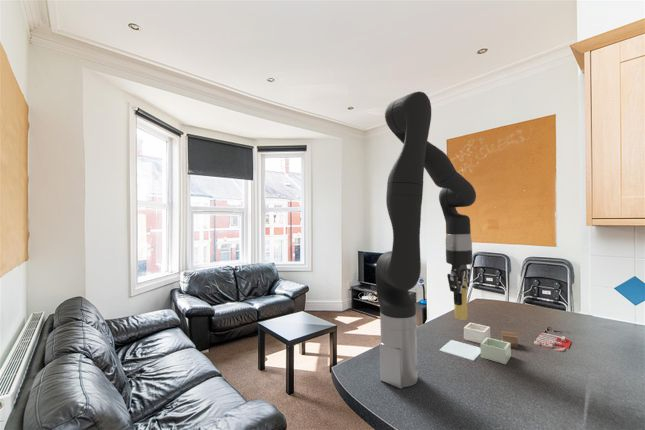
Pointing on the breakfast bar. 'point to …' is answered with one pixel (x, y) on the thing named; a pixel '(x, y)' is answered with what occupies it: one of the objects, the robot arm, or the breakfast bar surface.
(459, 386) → the breakfast bar surface
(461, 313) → the peg
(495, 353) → the pot green
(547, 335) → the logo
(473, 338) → the pot white
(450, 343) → the thin white panel
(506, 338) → the walnut block
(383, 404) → the breakfast bar surface
